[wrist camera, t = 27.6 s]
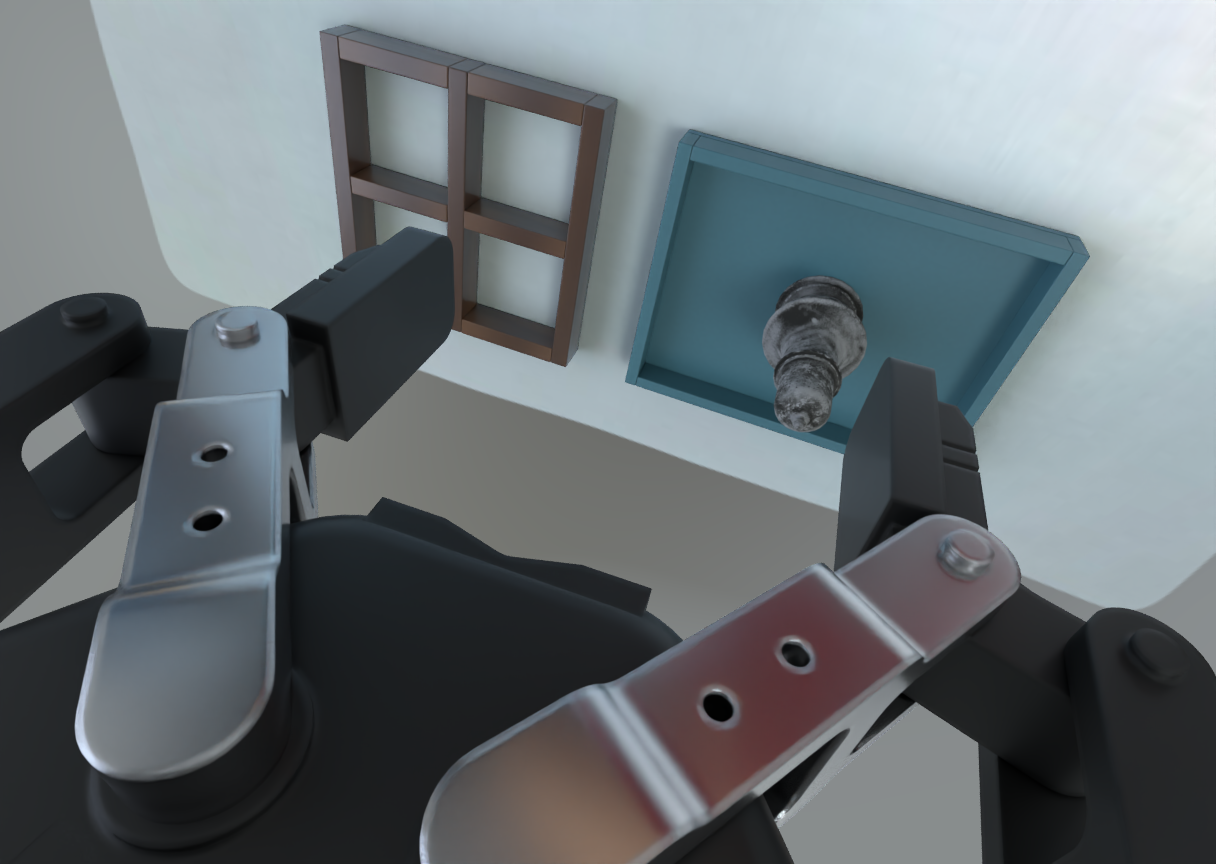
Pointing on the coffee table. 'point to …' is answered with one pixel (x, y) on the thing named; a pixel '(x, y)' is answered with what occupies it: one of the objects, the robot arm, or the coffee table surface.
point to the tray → (849, 251)
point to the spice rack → (469, 177)
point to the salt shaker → (813, 348)
